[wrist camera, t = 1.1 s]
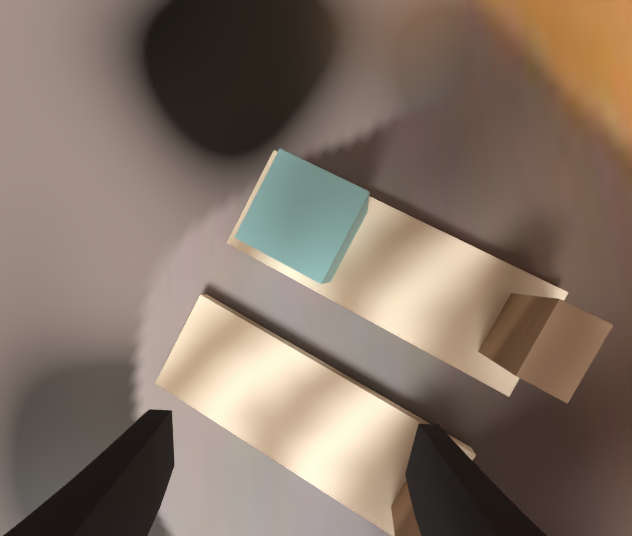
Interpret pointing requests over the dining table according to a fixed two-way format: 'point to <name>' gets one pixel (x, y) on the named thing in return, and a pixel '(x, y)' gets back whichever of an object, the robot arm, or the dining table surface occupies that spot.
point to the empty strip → (298, 412)
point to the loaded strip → (456, 302)
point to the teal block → (304, 217)
